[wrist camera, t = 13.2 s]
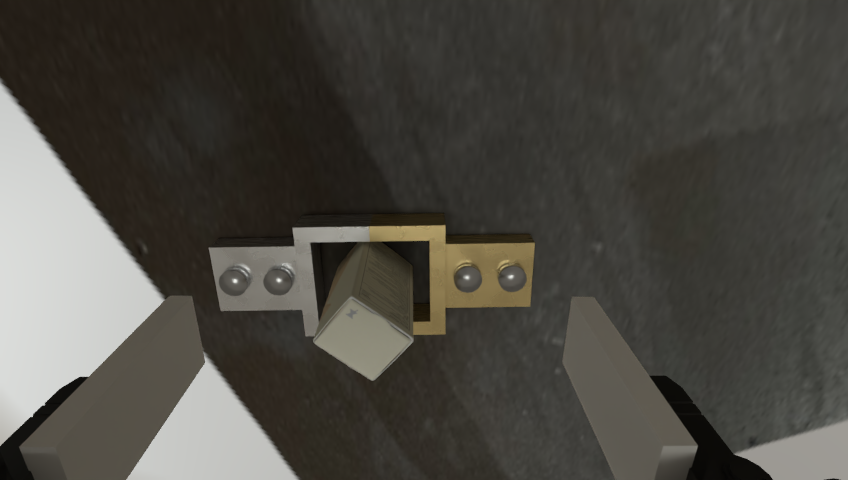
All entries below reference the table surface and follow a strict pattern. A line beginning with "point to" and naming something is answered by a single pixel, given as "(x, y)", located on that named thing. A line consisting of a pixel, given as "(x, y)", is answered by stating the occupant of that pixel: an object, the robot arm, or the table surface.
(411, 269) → the box
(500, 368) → the table surface
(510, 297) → the link
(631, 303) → the table surface
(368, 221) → the link
